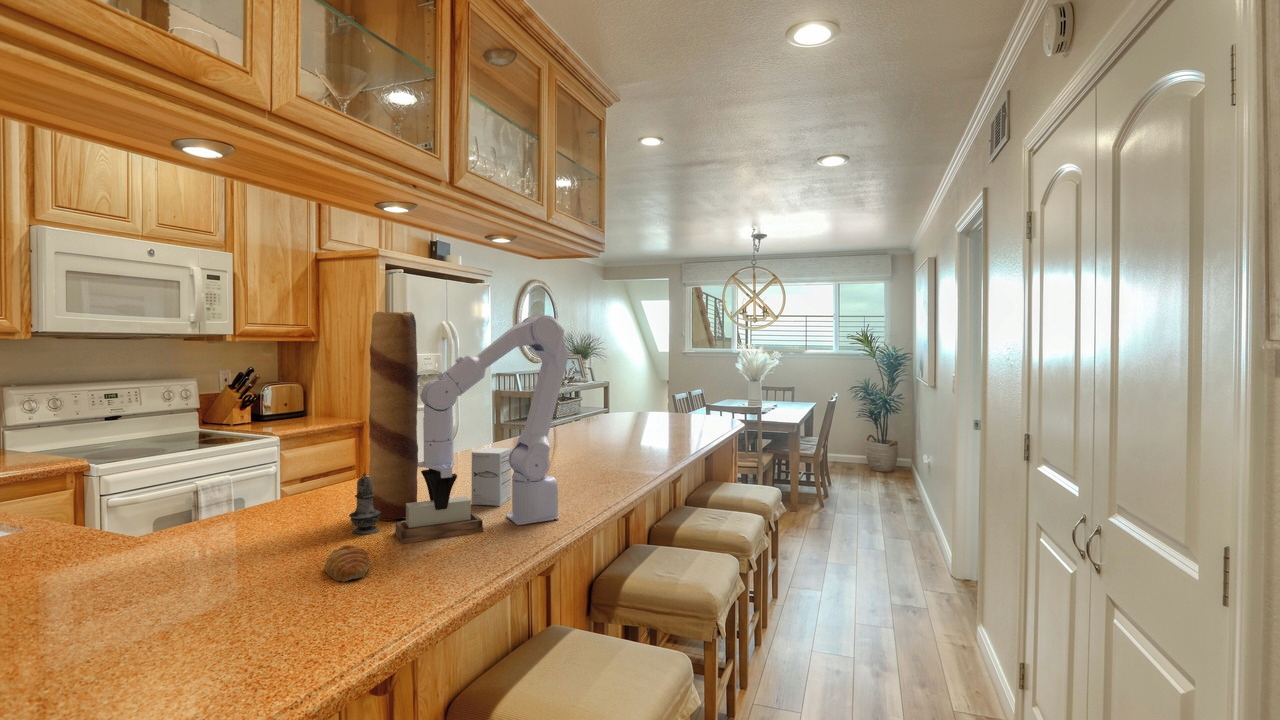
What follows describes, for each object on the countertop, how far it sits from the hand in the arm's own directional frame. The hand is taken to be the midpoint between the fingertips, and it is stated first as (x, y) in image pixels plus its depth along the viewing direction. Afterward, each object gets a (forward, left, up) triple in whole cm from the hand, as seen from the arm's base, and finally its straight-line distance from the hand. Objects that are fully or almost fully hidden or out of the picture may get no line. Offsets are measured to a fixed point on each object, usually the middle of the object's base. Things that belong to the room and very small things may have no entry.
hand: (439, 506), depth 127 cm
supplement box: (-16, -18, -5) cm, 25 cm away
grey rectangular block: (0, 0, -3) cm, 3 cm away
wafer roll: (+6, -17, -5) cm, 19 cm away
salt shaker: (+13, -8, -5) cm, 16 cm away
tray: (0, 0, -5) cm, 5 cm away
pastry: (+18, +15, -6) cm, 24 cm away
